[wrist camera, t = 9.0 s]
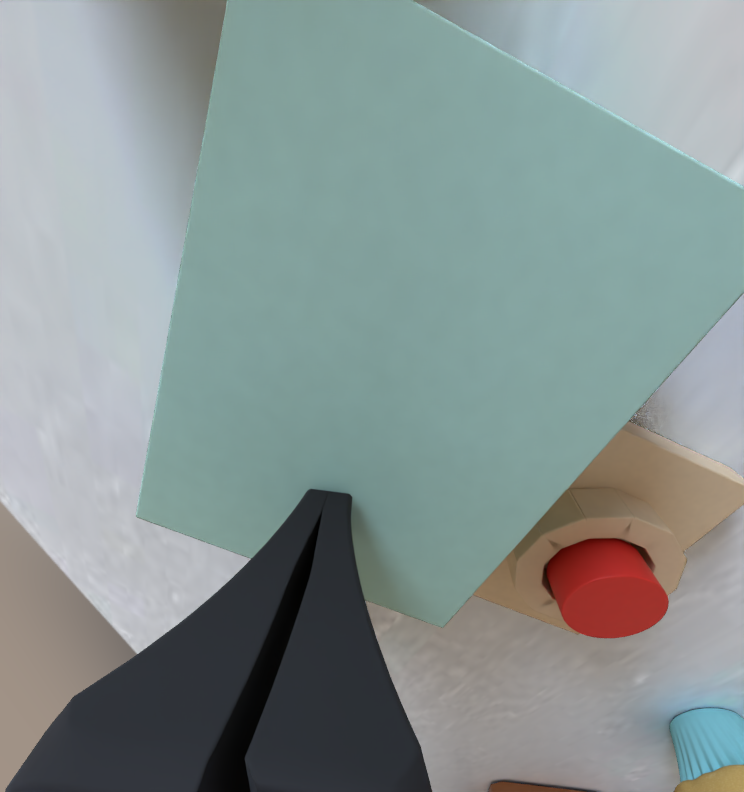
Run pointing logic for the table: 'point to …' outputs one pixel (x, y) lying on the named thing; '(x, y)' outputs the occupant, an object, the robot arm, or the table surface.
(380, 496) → the pale green flat slab
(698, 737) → the cupcake
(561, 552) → the power button
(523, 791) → the whiskey bottle
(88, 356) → the table surface
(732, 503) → the switch box
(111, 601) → the table surface
